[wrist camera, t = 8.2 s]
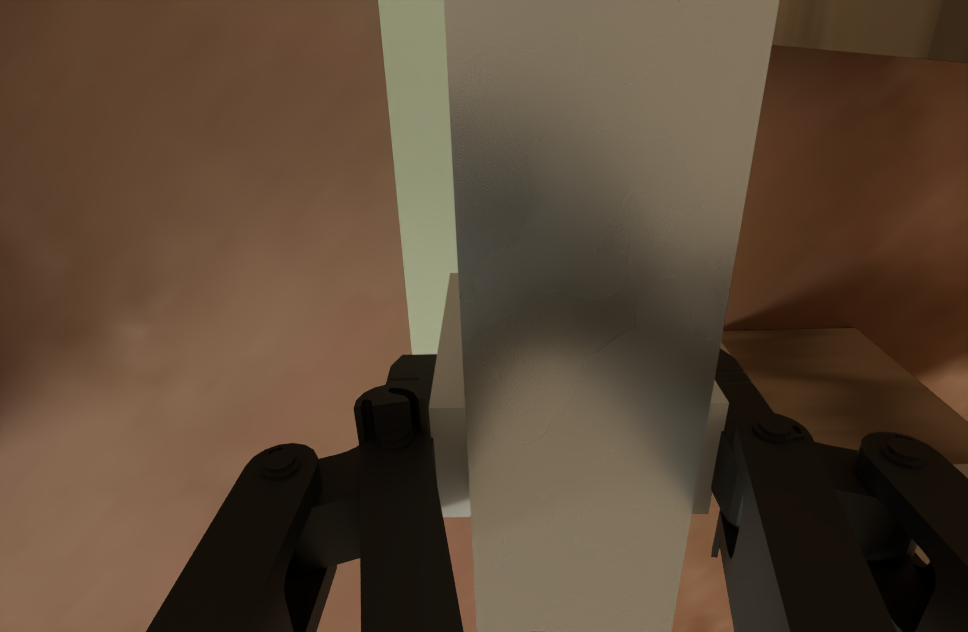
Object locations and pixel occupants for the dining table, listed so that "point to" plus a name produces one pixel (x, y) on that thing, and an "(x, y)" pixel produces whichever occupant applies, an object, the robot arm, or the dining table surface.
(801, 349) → the post
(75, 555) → the dining table surface
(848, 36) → the post
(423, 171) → the mat
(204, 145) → the dining table surface
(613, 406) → the rail
